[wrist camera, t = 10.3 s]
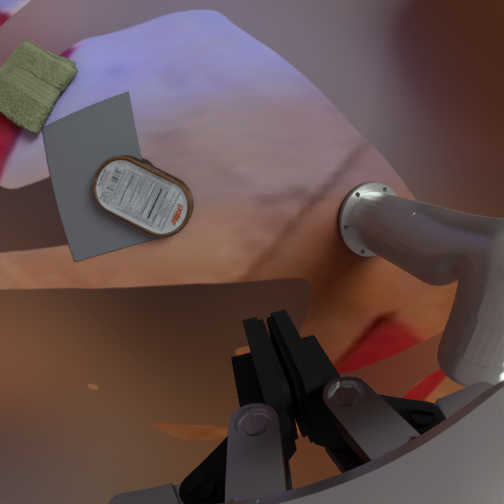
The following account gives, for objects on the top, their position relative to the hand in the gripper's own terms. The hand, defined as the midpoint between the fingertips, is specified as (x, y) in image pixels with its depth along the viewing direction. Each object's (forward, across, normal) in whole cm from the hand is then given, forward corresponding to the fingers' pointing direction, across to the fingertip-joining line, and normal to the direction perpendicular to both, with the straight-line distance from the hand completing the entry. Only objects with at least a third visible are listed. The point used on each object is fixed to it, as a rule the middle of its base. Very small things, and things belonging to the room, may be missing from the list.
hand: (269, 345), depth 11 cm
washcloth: (+31, +26, -30) cm, 50 cm away
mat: (+31, +17, -10) cm, 36 cm away
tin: (+29, +7, -9) cm, 31 cm away
